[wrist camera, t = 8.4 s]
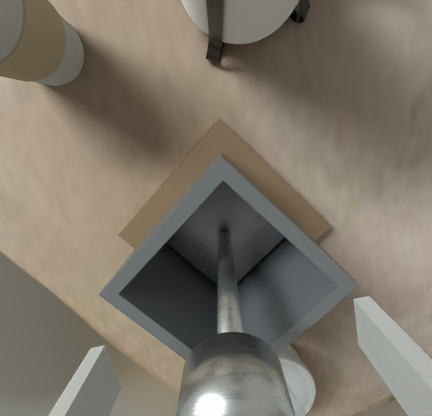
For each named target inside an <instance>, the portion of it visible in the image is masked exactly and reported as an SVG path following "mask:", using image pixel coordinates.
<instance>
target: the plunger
mask: <svg viewBox="0 0 432 416" xmlns="http://www.w3.org/2000/svg"><path fill="white" fill-rule="evenodd" d="M284 237H285V236H283V235H282V234H281V233H280V232H279V231H278V230H277V229H276V228H275V227H274V226H273V225H271V224H270V223H269V222H268V221H267V220H266V219H265V218H264V217H263V216H262V215H260V214H259V213H258V212H257V211H256V210H255V209H254V208H253V207H252V206H251V205H250V204H248V203H247V202H246V201H245V200H244V199H243V198H242V197H241V196H240V195H239V194H238V193H236V192H235V191H234V190H233V189H232V188H231V187H230V186H229V185H228V184H227V183H225V182H224V181H222V182H221V183H220V184H219V185H218V186H217V187H216V188H215V190H214V191H213V192H212V193H211V194H210V195H209V196H208V197H207V198H206V199H205V200H204V202H203V203H202V204H201V205H200V206H199V207H198V208H197V209H196V210H195V211H194V212H193V213H192V215H191V216H190V217H189V218H188V219H187V220H186V221H185V222H184V223H183V224H182V225H181V227H180V228H179V229H178V230H177V231H176V232H175V233H174V234H173V235H172V236H171V237H170V238H169V240H168V241H167V242H166V243H167V244H168V245H170V246H171V247H172V248H173V249H174V250H176V251H177V252H178V253H179V254H180V255H182V256H183V257H184V258H185V259H186V260H188V261H189V262H190V263H191V264H193V265H194V266H195V267H196V268H197V269H199V270H200V271H201V272H202V273H203V274H205V275H206V276H207V277H208V278H209V279H211V280H212V281H213V282H214V283H215V284H217V285H218V306H217V334H215V335H212V336H210V337H208V338H206V339H204V340H202V341H201V342H199V343H198V344H197V345H196V346H195V347H194V348H193V349H192V350H191V351H190V353H189V354H188V356H187V358H186V361H185V364H184V369H183V375H182V381H181V388H180V394H179V400H178V407H177V413H176V416H295V412H294V409H293V405H292V401H291V398H290V394H289V391H288V387H287V384H286V380H285V377H284V373H283V370H282V366H281V362H280V360H279V357H278V356H277V354H276V352H275V351H274V350H273V348H272V347H271V346H270V345H268V344H267V343H266V342H265V341H263V340H262V339H260V338H258V337H256V336H253V335H251V334H247V333H243V329H242V321H241V313H240V305H239V297H238V290H237V283H238V282H239V281H240V280H241V279H242V278H243V277H244V276H245V275H246V274H247V273H248V272H249V271H250V270H251V269H252V268H253V267H254V266H255V265H256V264H257V263H258V262H259V261H260V260H261V259H262V258H263V257H264V256H265V255H267V254H268V253H269V252H270V251H271V250H272V249H273V248H274V247H275V246H276V245H277V244H278V243H279V242H280V241H281V240H282V239H283V238H284Z"/></svg>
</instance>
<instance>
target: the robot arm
mask: <svg viewBox="0 0 432 416" xmlns="http://www.w3.org/2000/svg"><path fill="white" fill-rule="evenodd" d="M353 301H354V310H355V318H356V327H357V336H358V345H359V346H360V348H361V349H362V351H363V352H364V354H365V355H366V356H367V358H368V359H369V361H370V362H371V364H372V365H373V367H374V368H375V369H376V371H377V372H378V374H379V375H380V377H381V378H382V379H383V381H384V382H385V384H386V385H387V387H388V388H389V389H390V391H391V392H392V394H393V395H394V397H395V398H396V400H397V401H398V402H399V404H400V405H401V407H402V408H403V410H404V411H405V412H406V414H407V415H408V416H432V359H431V358H430V357H429V356H428V355H427V354H426V353H425V352H424V351H423V350H422V349H421V348H420V347H419V346H418V345H417V344H416V343H415V342H414V341H413V340H412V339H411V338H410V337H409V336H408V335H407V334H406V333H405V332H404V331H403V330H402V329H401V328H400V327H399V326H398V325H397V324H396V323H395V322H394V321H393V320H392V319H391V318H390V317H389V316H388V315H387V314H386V313H385V312H384V311H383V310H382V309H381V308H380V307H379V306H378V305H377V304H376V303H375V302H374V301H373V299H372V298H371V297H370V296H366V297H361V298H355V299H353ZM120 388H121V387H120V384H119V381H118V379H117V376H116V374H115V371H114V368H113V366H112V363H111V360H110V358H109V355H108V353H107V350H106V347H105V346H99V347H95V348H91V349H90V350H89V352H88V354H87V355H86V357H85V358H84V360H83V362H82V363H81V365H80V366H79V368H78V370H77V371H76V373H75V374H74V376H73V378H72V379H71V381H70V382H69V384H68V385H67V387H66V389H65V390H64V392H63V393H62V395H61V396H60V398H59V400H58V401H57V403H56V404H55V406H54V408H53V409H52V411H51V412H50V414H49V416H109V414H110V412H111V410H112V407H113V405H114V402H115V400H116V397H117V395H118V392H119V390H120Z"/></svg>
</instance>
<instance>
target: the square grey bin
mask: <svg viewBox="0 0 432 416" xmlns="http://www.w3.org/2000/svg"><path fill="white" fill-rule="evenodd" d="M222 181H224V182H225V183H227V184H228V185H229V186H230V187H231V188H232V189H233V190H234V191H235V192H236V193H238V194H239V195H240V196H241V197H242V198H243V199H244V200H245V201H246V202H247V203H248V204H250V205H251V206H252V207H253V208H254V209H255V210H256V211H257V212H258V213H259V214H260V215H262V216H263V217H264V218H265V219H266V220H267V221H268V222H269V223H270V224H271V225H273V226H274V227H275V228H276V229H277V230H278V231H279V232H280V233H281V234H282V235H283V236H285V237H284V238H283V239H282V240H281V241H280V242H279V243H278V244H277V245H276V246H275V247H274V248H273V249H272V250H271V251H270V252H269V253H268V254H267V255H265V256H264V257H263V258H262V259H261V260H260V261H259V262H258V263H257V264H256V265H255V266H254V267H253V268H252V269H251V270H250V271H249V272H248V273H247V274H246V275H245V276H244V277H243V278H242V279H241V280H240V281H239V282H238V283H237V290H238V297H239V305H240V313H241V321H242V329H243V333H247V334H251V335H253V336H256V337H258V338H260V339H262V340H263V341H265V342H266V343H267V344H268V345H270V346H271V347H272V348H273V350H274V351H275V352H276V354H277V356H278V355H279V354H280V353H281V352H282V351H283V350H285V349H286V348H287V347H288V346H289V345H290V344H292V343H293V342H294V341H295V340H296V339H297V338H299V337H300V336H301V335H302V334H303V333H304V332H306V331H307V330H308V329H309V328H310V327H311V326H313V325H314V324H315V323H316V322H317V321H318V320H320V319H321V318H322V317H323V316H324V315H325V314H327V313H328V312H329V311H330V310H331V309H332V308H334V307H335V306H336V305H337V304H338V303H339V302H341V301H342V300H343V299H344V298H345V297H346V296H348V295H349V294H350V293H351V292H352V291H353V290H355V289H356V288H357V287H358V286H359V284H358V283H357V282H356V281H355V280H354V279H353V278H352V277H351V276H350V275H349V274H348V273H347V272H346V271H345V270H344V269H343V268H342V267H341V266H340V265H339V264H338V263H337V262H336V261H335V260H334V259H333V258H332V257H331V256H330V255H329V254H328V253H327V252H326V251H325V250H324V249H323V248H322V247H321V246H320V245H319V244H318V243H317V242H316V241H317V240H318V239H319V238H320V237H321V236H322V235H323V234H324V233H325V232H326V231H327V230H328V229H330V228H331V227H332V226H331V225H330V224H329V223H328V222H327V221H326V220H325V219H324V218H323V217H321V216H320V215H319V214H318V213H317V212H316V211H315V210H314V209H313V208H312V207H311V206H310V205H309V204H308V203H307V202H306V201H305V200H304V199H303V198H302V197H301V196H300V195H299V194H298V193H296V192H295V191H294V190H293V189H292V188H291V187H290V186H289V185H288V184H287V183H286V182H285V181H284V180H283V179H282V178H281V177H280V176H279V175H278V174H277V173H276V172H275V171H274V170H272V169H271V168H270V167H269V166H268V165H267V164H266V163H265V162H264V161H263V160H262V159H261V158H260V157H259V156H258V155H257V154H256V153H255V152H254V151H253V150H252V149H251V148H250V147H249V146H247V145H246V144H245V143H244V142H243V141H242V140H241V139H240V138H239V137H238V136H237V135H236V134H235V133H234V132H233V131H232V130H231V129H230V128H229V127H228V126H227V125H226V124H225V123H223V122H222V121H221V120H220V119H219V120H218V121H217V122H216V123H215V124H214V125H213V126H212V128H211V129H210V130H209V131H208V132H207V133H206V135H205V136H204V137H203V138H202V139H201V140H200V142H199V143H198V144H197V145H196V146H195V147H194V148H193V150H192V151H191V152H190V153H189V154H188V155H187V157H186V158H185V159H184V160H183V161H182V162H181V163H180V165H179V166H178V167H177V168H176V169H175V170H174V172H173V173H172V174H171V175H170V176H169V177H168V178H167V180H166V181H165V182H164V183H163V184H162V185H161V187H160V188H159V189H158V190H157V191H156V192H155V193H154V195H153V196H152V197H151V198H150V199H149V200H148V202H147V203H146V204H145V205H144V206H143V207H142V209H141V210H140V211H139V212H138V213H137V214H136V215H135V217H134V218H133V219H132V220H131V221H130V222H129V224H128V225H127V226H126V227H125V228H124V229H123V230H122V232H121V233H120V234H119V236H120V237H121V238H122V239H124V240H125V241H126V242H127V243H129V244H130V245H131V246H132V247H134V248H135V250H134V252H133V253H132V254H131V255H130V256H129V258H128V259H127V260H126V261H125V263H124V264H123V265H122V266H121V268H120V269H119V270H118V271H117V273H116V274H115V275H114V276H113V278H112V279H111V280H110V281H109V283H108V284H107V285H106V286H105V288H104V289H103V290H102V291H101V293H100V294H99V295H100V296H101V297H102V298H104V299H105V300H106V301H108V302H109V303H110V304H112V305H113V306H114V307H116V308H117V309H118V310H120V311H121V312H122V313H124V314H125V315H126V316H128V317H129V318H130V319H132V320H133V321H134V322H136V323H137V324H138V325H140V326H141V327H142V328H144V329H145V330H146V331H148V332H149V333H150V334H152V335H153V336H154V337H156V338H157V339H158V340H160V341H161V342H162V343H164V344H165V345H166V346H168V347H169V348H170V349H172V350H173V351H174V352H176V353H177V354H178V355H180V356H181V357H182V358H184V359H185V360H186V358H187V356H188V354H189V353H190V351H191V350H192V349H193V348H194V347H195V346H196V345H197V344H198V343H199V342H201V341H202V340H204V339H206V338H208V337H210V336H212V335H215V334H217V306H218V285H217V284H215V283H214V282H213V281H212V280H211V279H209V278H208V277H207V276H206V275H205V274H203V273H202V272H201V271H200V270H199V269H197V268H196V267H195V266H194V265H193V264H191V263H190V262H189V261H188V260H186V259H185V258H184V257H183V256H182V255H180V254H179V253H178V252H177V251H176V250H174V249H173V248H172V247H171V246H170V245H168V244H167V243H166V242H167V241H168V240H169V238H170V237H171V236H172V235H173V234H174V233H175V232H176V231H177V230H178V229H179V228H180V227H181V225H182V224H183V223H184V222H185V221H186V220H187V219H188V218H189V217H190V216H191V215H192V213H193V212H194V211H195V210H196V209H197V208H198V207H199V206H200V205H201V204H202V203H203V202H204V200H205V199H206V198H207V197H208V196H209V195H210V194H211V193H212V192H213V191H214V190H215V188H216V187H217V186H218V185H219V184H220V183H221V182H222Z"/></svg>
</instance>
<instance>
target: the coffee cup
mask: <svg viewBox="0 0 432 416" xmlns="http://www.w3.org/2000/svg"><path fill="white" fill-rule="evenodd" d="M83 63H84V48H83V44H82V41H81V39H80V37H79V35H78V34H77V32H76V31H75V30H74V28H73V27H72V26H71V25H70V24H69V23H68V22H67V21H65V20H64V19H63V18H62V17H61V16H60V15H59V14H58V12H57V11H56V9H55V8H54V7H53V6H52V4H51V3H50V2H49V1H48V0H0V76H2V77H7V78H12V79H17V80H22V81H33V82H37V83H41V84H46V85H50V86H62V85H66V84H68V83H70V82H72V81H73V80H74V79H75V78H76V77H77V76H78V75H79V73H80V71H81V69H82V67H83Z"/></svg>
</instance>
